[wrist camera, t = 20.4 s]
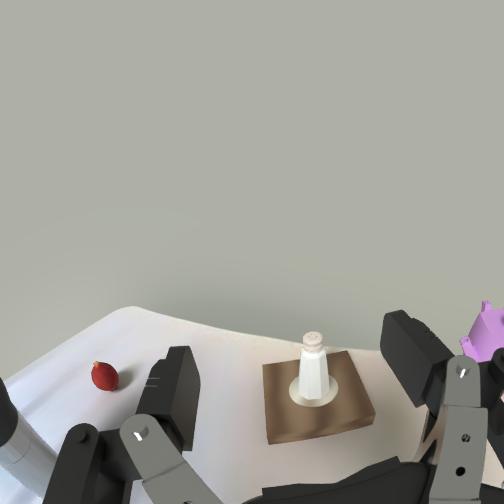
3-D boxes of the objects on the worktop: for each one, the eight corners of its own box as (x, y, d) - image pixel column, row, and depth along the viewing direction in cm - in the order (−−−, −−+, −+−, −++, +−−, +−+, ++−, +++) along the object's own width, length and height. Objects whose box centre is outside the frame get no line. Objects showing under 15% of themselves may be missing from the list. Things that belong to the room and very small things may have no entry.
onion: (110, 378, 50) (95, 350, 47) (128, 383, 48) (113, 355, 46) (96, 394, 44) (79, 366, 42) (114, 401, 43) (97, 373, 40)
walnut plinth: (268, 444, 33) (266, 434, 32) (264, 375, 48) (262, 364, 47) (372, 424, 32) (375, 412, 31) (346, 361, 47) (347, 349, 46)
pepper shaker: (336, 392, 37) (339, 339, 34) (305, 405, 36) (303, 353, 32) (321, 372, 42) (320, 321, 39) (291, 383, 41) (287, 332, 37)
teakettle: (509, 414, 21) (541, 359, 17) (441, 379, 36) (460, 324, 32) (529, 358, 28) (549, 307, 24) (473, 334, 42) (486, 284, 39)
